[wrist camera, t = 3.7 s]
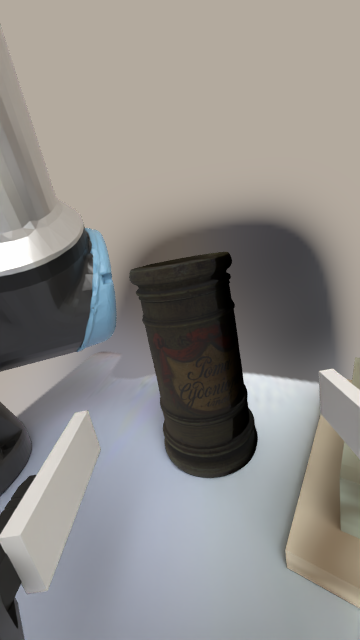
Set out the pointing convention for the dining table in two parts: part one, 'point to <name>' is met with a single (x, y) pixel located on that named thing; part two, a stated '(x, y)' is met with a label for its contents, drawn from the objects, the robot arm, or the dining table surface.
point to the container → (197, 363)
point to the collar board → (329, 515)
